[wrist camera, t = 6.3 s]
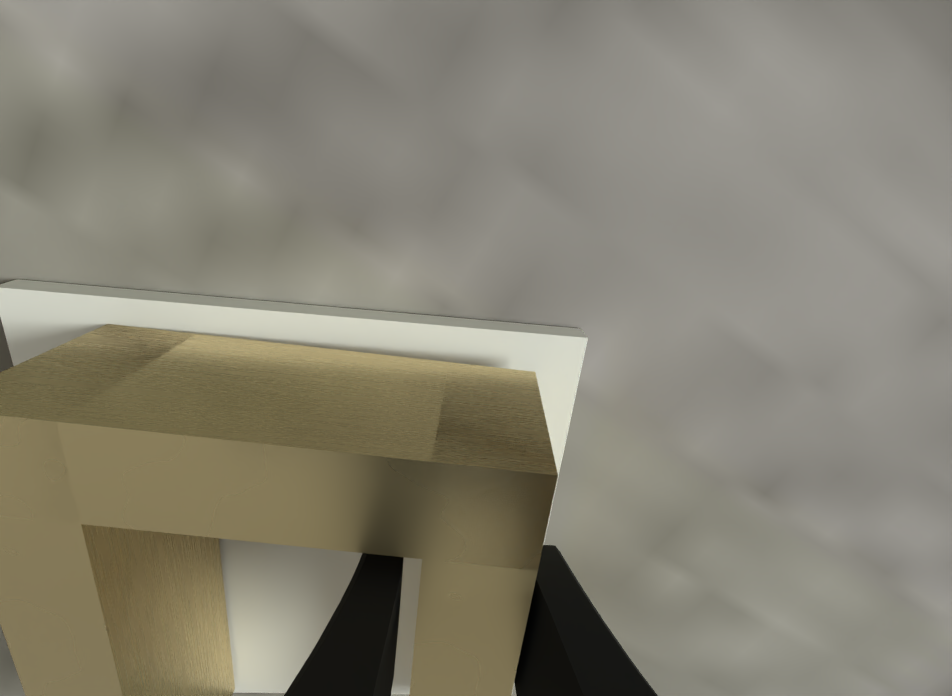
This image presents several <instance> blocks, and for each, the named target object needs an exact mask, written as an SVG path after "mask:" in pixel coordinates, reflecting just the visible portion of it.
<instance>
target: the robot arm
mask: <svg viewBox="0 0 952 696" xmlns="http://www.w3.org/2000/svg"><path fill="white" fill-rule="evenodd" d="M403 560H404V557H396V556H386V555H376V554H367V553H362V556H361V558H360V561H359V563H358V566H357V568H356V570H355V572H354V575H353V577H352V579H351V581H350V583H349V585H348V587H347V589H346V591H345V593H344V595H343V597H342V599H341V601H340V603H339V605H338V606H337V608H336V610H335V612H334V613H333V615H332V617H331V619H330V621H329V622H328V624H327V626H326V628H325V630H324V631H323V633H322V635H321V637H320V638H319V640H318V642H317V644H316V645H315V647H314V649H313V650H312V652H311V654H310V655H309V657H308V658H307V660H306V662H305V663H304V665H303V666H302V668H301V670H300V671H299V673H298V674H297V676H296V677H295V679H294V681H293V682H292V684H291V685H290V687H289V688H288V690H287V692H286V693H285V695H284V696H391V690H392V684H393V679H394V669H395V658H396V647H397V636H398V625H399V613H400V600H401V586H402V573H403ZM514 682H515V688H516V694H517V696H658V695H657V694H656V693H655V691H654V690H653V689H652V688H651V686H650V685H649V684H648V682H647V681H646V680H645V678H644V677H643V676H642V674H641V673H640V672H639V670H638V669H637V668H636V666H635V665H634V663H633V662H632V661H631V659H630V658H629V656H628V655H627V654H626V652H625V651H624V649H623V648H622V647H621V645H620V644H619V642H618V641H617V639H616V638H615V637H614V635H613V634H612V632H611V631H610V629H609V628H608V627H607V625H606V624H605V622H604V621H603V619H602V618H601V616H600V615H599V613H598V612H597V610H596V609H595V607H594V606H593V604H592V603H591V601H590V599H589V598H588V596H587V595H586V593H585V592H584V590H583V589H582V587H581V585H580V584H579V582H578V581H577V579H576V577H575V576H574V574H573V573H572V571H571V569H570V568H569V566H568V564H567V563H566V561H565V560H564V558H563V556H562V555H561V553H560V551H559V550H558V549H557V548H556V546H552V545H543V549H542V553H541V558H540V563H539V567H538V572H537V577H536V581H535V586H534V591H533V595H532V600H531V605H530V610H529V614H528V619H527V624H526V628H525V633H524V638H523V642H522V647H521V652H520V656H519V661H518V666H517V670H516V675H515V680H514Z"/></svg>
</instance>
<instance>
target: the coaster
mask: <svg viewBox="0 0 952 696" xmlns="http://www.w3.org/2000/svg"><path fill="white" fill-rule="evenodd" d="M0 317H1V321H2V325H3V328H4V332H5V336H6V340H7V343H8V347H9V351H10V355H11V358H12V362H13V366H16V365H18V364H20V363H22V362H24V361H27V360H29V359H31V358H33V357H35V356H38V355H40V354H42V353H44V352H46V351H49V350H51V349H53V348H55V347H58V346H60V345H62V344H64V343H66V342H69V341H71V340H73V339H75V338H77V337H80V336H82V335H84V334H86V333H88V332H91V331H93V330H95V329H97V328H99V327H102V326H104V325H106V324H114V325H122V326H131V327H140V328H149V329H158V330H167V331H176V332H185V333H194V334H203V335H212V336H221V337H229V338H238V339H247V340H256V341H265V342H274V343H283V344H292V345H301V346H310V347H319V348H327V349H336V350H345V351H354V352H363V353H372V354H381V355H390V356H399V357H408V358H417V359H426V360H434V361H443V362H452V363H461V364H470V365H479V366H488V367H497V368H506V369H515V370H524V371H532V372H535V373H536V377H537V382H538V386H539V391H540V396H541V400H542V405H543V409H544V414H545V418H546V423H547V427H548V432H549V436H550V441H551V446H552V450H553V455H554V459H555V464H556V468H557V473H558V476H559V471H560V466H561V462H562V457H563V452H564V448H565V443H566V438H567V434H568V429H569V424H570V420H571V415H572V410H573V406H574V401H575V396H576V392H577V387H578V382H579V378H580V373H581V368H582V364H583V359H584V354H585V350H586V345H587V340H588V337H587V336H586V335H585V333H584V332H583V331H582V329H580V328H569V327H557V326H546V325H535V324H523V323H512V322H500V321H489V320H477V319H466V318H455V317H443V316H432V315H420V314H409V313H397V312H386V311H375V310H363V309H352V308H340V307H329V306H318V305H306V304H295V303H283V302H272V301H260V300H249V299H238V298H226V297H215V296H203V295H192V294H181V293H169V292H158V291H146V290H135V289H123V288H112V287H101V286H89V285H78V284H66V283H55V282H44V281H32V280H21V279H16V280H13V281H10V282H7V283H3V284H0ZM557 480H558V478H557ZM556 485H557V483H556ZM555 490H556V488H555ZM554 494H555V492H554ZM553 499H554V497H553ZM552 504H553V502H552ZM551 508H552V506H551ZM550 513H551V511H550ZM549 518H550V516H549ZM548 522H549V520H548ZM547 527H548V525H547ZM546 532H547V530H546ZM545 537H546V535H545ZM544 541H545V539H544ZM543 545H544V544H543ZM219 546H220V555H221V564H222V573H223V582H224V591H225V601H226V610H227V619H228V628H229V637H230V647H231V656H232V665H233V674H234V683H235V690H234V692H233V693H286V692H287V690H288V688H289V687H290V685H291V684H292V682H293V681H294V679H295V677H296V676H297V674H298V673H299V671H300V670H301V668H302V666H303V665H304V663H305V662H306V660H307V658H308V657H309V655H310V654H311V652H312V650H313V649H314V647H315V645H316V644H317V642H318V640H319V638H320V637H321V635H322V633H323V631H324V630H325V628H326V626H327V624H328V622H329V621H330V619H331V617H332V615H333V613H334V612H335V610H336V608H337V606H338V605H339V603H340V601H341V599H342V597H343V595H344V593H345V591H346V589H347V587H348V585H349V583H350V581H351V579H352V577H353V575H354V572H355V570H356V568H357V566H358V563H359V561H360V558H361V556H362V553H357V552H347V551H338V550H328V549H318V548H308V547H299V546H289V545H279V544H269V543H260V542H250V541H240V540H230V539H221V538H219ZM421 566H422V559H415V558H406V557H404V560H403V573H402V586H401V600H400V613H399V625H398V636H397V647H396V658H395V669H394V679H393V684H392V690H391V694H409V693H410V683H411V672H412V662H413V651H414V640H415V630H416V619H417V608H418V598H419V587H420V576H421ZM513 686H514V685H513ZM512 691H513V689H512ZM511 695H512V694H511Z"/></svg>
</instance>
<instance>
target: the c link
mask: <svg viewBox="0 0 952 696" xmlns="http://www.w3.org/2000/svg"><path fill="white" fill-rule="evenodd" d="M557 478H558V473H557V468H556V464H555V459H554V455H553V450H552V446H551V441H550V436H549V432H548V427H547V423H546V418H545V414H544V409H543V405H542V400H541V396H540V391H539V386H538V382H537V377H536V373H535V372H532V371H524V370H515V369H506V368H497V367H488V366H479V365H470V364H461V363H452V362H443V361H434V360H426V359H417V358H408V357H399V356H390V355H381V354H372V353H363V352H354V351H345V350H336V349H327V348H319V347H310V346H301V345H292V344H283V343H274V342H265V341H256V340H247V339H238V338H229V337H221V336H212V335H203V334H194V333H185V332H176V331H167V330H158V329H149V328H140V327H131V326H122V325H114V324H106V325H104V326H102V327H99V328H97V329H95V330H93V331H91V332H88V333H86V334H84V335H82V336H80V337H77V338H75V339H73V340H71V341H69V342H66V343H64V344H62V345H60V346H58V347H55V348H53V349H51V350H49V351H46V352H44V353H42V354H40V355H38V356H35V357H33V358H31V359H29V360H27V361H24V362H22V363H20V364H18V365H16V366H13V367H11V368H9V369H7V370H5V371H2V372H0V625H1V628H2V631H3V633H4V636H5V639H6V642H7V645H8V647H9V650H10V653H11V656H12V659H13V661H14V664H15V667H16V670H17V673H18V676H19V678H20V681H21V684H22V687H23V690H24V692H25V695H26V696H232V694H233V692H234V690H235V683H234V674H233V665H232V656H231V647H230V637H229V628H228V619H227V610H226V601H225V591H224V582H223V573H222V564H221V555H220V546H219V538H221V539H230V540H240V541H250V542H260V543H269V544H279V545H289V546H299V547H308V548H318V549H328V550H338V551H347V552H357V553H367V554H376V555H386V556H396V557H406V558H415V559H422V566H421V576H420V587H419V598H418V608H417V619H416V630H415V640H414V651H413V662H412V672H411V683H410V693H409V696H511V694H512V689H513V685H514V680H515V675H516V670H517V666H518V661H519V656H520V652H521V647H522V642H523V638H524V633H525V628H526V624H527V619H528V614H529V610H530V605H531V600H532V595H533V591H534V586H535V581H536V577H537V572H538V567H539V563H540V558H541V553H542V549H543V544H544V539H545V535H546V530H547V525H548V520H549V516H550V511H551V506H552V502H553V497H554V492H555V488H556V483H557Z"/></svg>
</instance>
